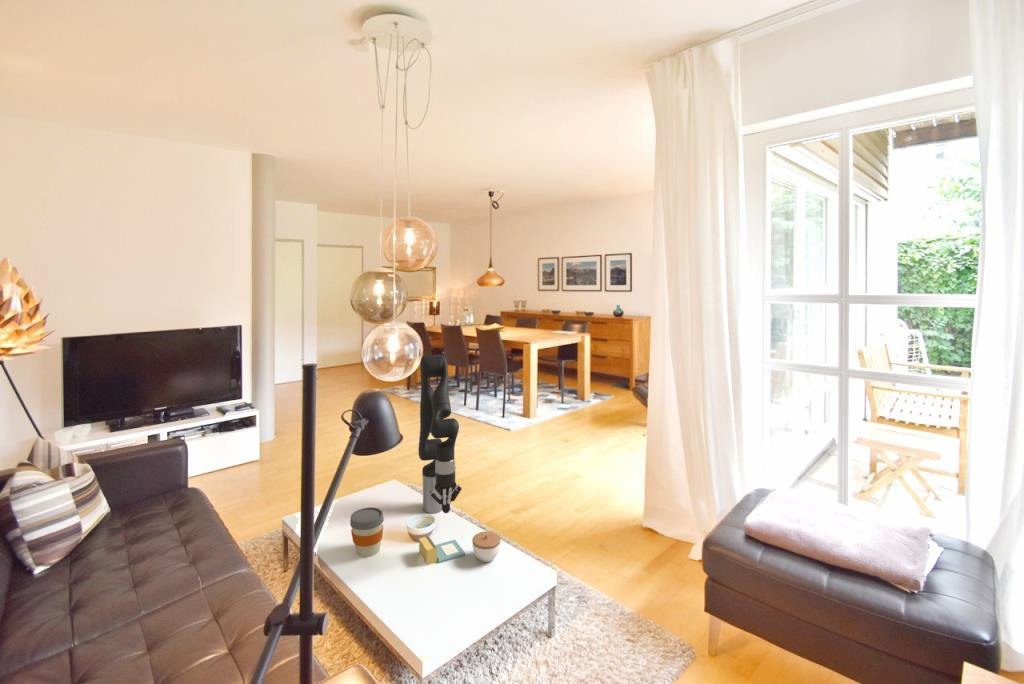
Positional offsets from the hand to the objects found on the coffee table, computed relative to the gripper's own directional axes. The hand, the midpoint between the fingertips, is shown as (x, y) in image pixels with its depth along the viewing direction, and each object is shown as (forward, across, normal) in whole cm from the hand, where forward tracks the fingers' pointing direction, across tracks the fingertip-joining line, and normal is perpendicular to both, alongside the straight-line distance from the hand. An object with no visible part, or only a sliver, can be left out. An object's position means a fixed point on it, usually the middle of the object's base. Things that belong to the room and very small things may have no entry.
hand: (445, 512), depth 188 cm
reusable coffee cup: (+17, +27, -16) cm, 35 cm away
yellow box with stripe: (+17, +8, 0) cm, 18 cm away
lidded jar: (+17, -12, +10) cm, 23 cm away
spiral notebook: (+17, 0, 0) cm, 17 cm away
